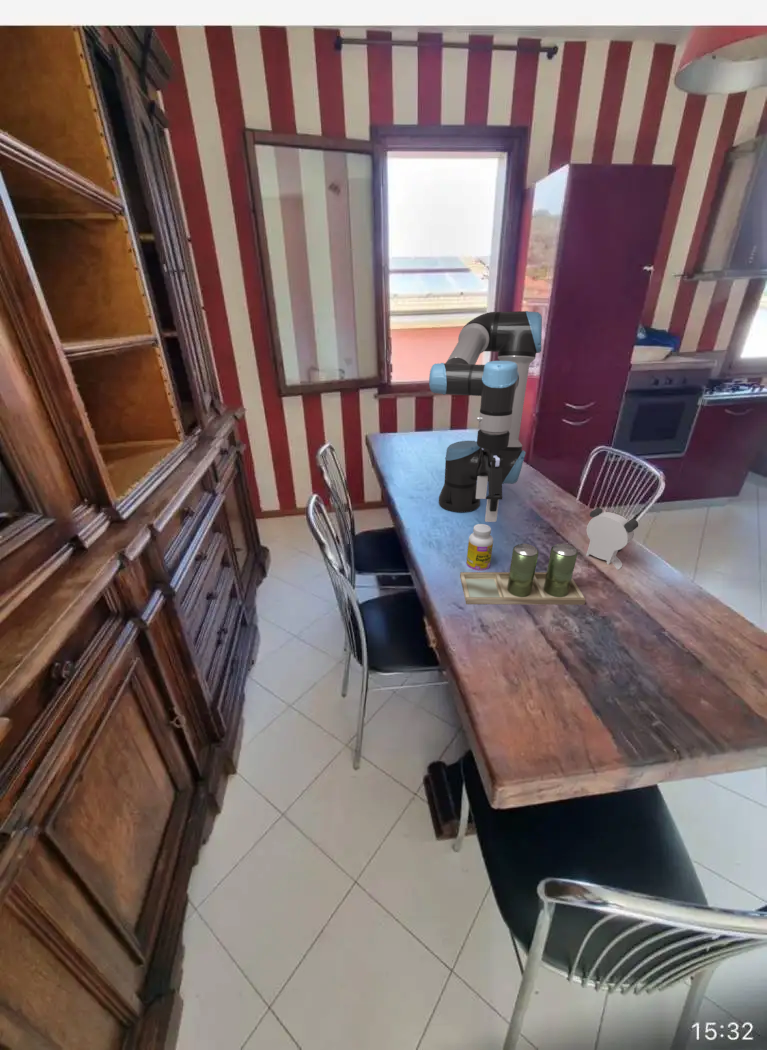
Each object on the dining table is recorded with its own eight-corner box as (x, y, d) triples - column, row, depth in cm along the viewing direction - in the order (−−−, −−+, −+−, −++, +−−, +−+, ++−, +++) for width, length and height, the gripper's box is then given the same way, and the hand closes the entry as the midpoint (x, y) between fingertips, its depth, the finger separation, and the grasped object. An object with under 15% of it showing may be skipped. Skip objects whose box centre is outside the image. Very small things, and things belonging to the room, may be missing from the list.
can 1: (504, 583, 111) (510, 543, 105) (527, 583, 111) (534, 543, 105) (510, 597, 106) (516, 555, 100) (534, 597, 106) (542, 555, 100)
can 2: (540, 583, 111) (548, 543, 105) (563, 583, 111) (572, 542, 105) (547, 597, 106) (556, 555, 100) (571, 597, 105) (581, 555, 99)
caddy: (459, 579, 115) (460, 572, 113) (566, 579, 114) (568, 572, 112) (465, 607, 104) (466, 599, 103) (583, 607, 103) (585, 599, 102)
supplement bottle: (472, 575, 116) (476, 535, 110) (462, 562, 122) (465, 524, 116) (494, 571, 118) (499, 531, 112) (483, 559, 123) (487, 520, 117)
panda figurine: (630, 562, 120) (645, 516, 113) (613, 578, 114) (627, 530, 107) (589, 546, 128) (600, 502, 121) (571, 560, 122) (582, 514, 115)
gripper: (469, 417, 112) (464, 490, 122) (488, 446, 90) (479, 532, 100) (498, 417, 112) (490, 489, 122) (523, 446, 90) (511, 532, 100)
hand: (485, 509), depth 111 cm, fingers open, 13 cm apart
